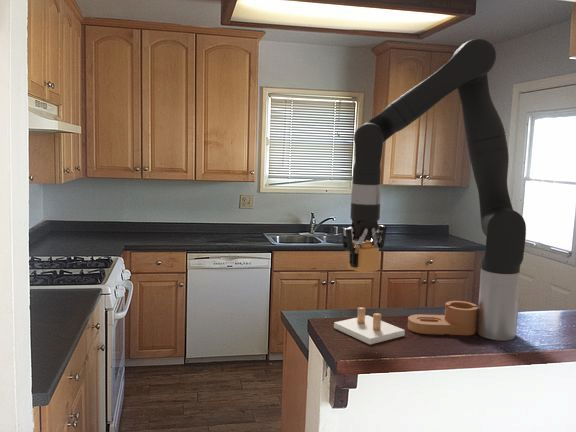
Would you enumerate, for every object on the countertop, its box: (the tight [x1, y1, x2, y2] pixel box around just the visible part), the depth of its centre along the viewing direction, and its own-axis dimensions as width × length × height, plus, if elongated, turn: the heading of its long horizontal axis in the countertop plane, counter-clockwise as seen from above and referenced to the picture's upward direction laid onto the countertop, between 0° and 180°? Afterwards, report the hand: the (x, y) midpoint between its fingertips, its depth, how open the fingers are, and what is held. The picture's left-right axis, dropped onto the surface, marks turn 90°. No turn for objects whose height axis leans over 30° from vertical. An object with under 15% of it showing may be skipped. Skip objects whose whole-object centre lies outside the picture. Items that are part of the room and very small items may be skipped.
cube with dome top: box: [347, 241, 380, 274], centre depth 135 cm, size 6×6×7 cm
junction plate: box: [333, 306, 406, 345], centre depth 135 cm, size 12×14×6 cm
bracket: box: [407, 300, 478, 336], centre depth 138 cm, size 18×8×7 cm, turn 87°
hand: (363, 265), depth 135 cm, fingers closed on cube with dome top, 5 cm apart
